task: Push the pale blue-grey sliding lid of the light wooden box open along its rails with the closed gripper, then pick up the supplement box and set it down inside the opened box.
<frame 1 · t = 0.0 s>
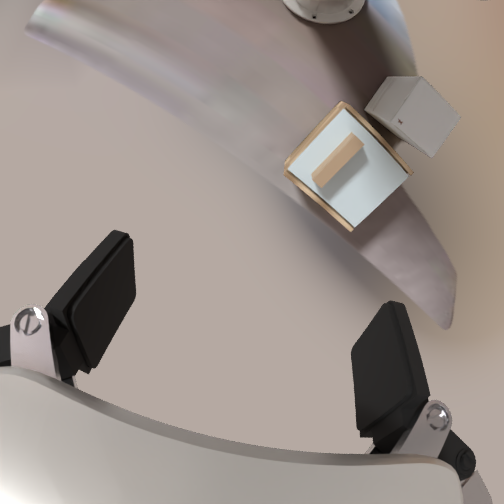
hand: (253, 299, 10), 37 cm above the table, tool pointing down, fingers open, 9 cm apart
box: (343, 158, 42), on the table
lid: (352, 173, 35), point 8 cm above the table, slide at 0.0 cm
supplement box: (393, 106, 36), on the table
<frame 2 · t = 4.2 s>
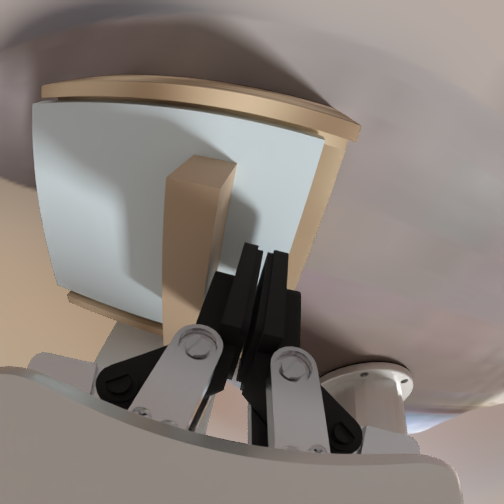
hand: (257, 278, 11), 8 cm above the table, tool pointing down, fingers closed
box: (202, 182, 18), on the table
lid: (129, 243, 11), point 8 cm above the table, slide at 1.0 cm, touching gripper
supplement box: (189, 309, 25), on the table
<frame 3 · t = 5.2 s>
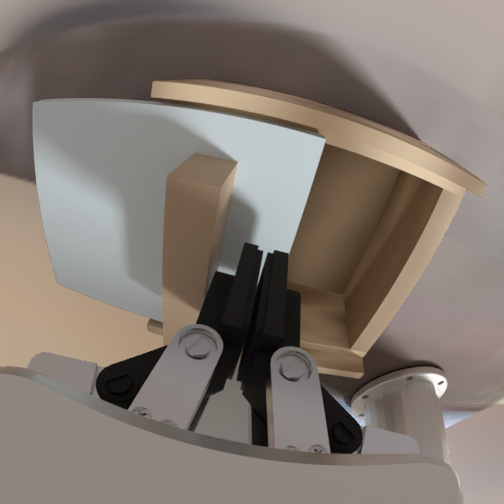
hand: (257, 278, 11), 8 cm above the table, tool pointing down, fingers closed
box: (293, 203, 18), on the table
lid: (129, 242, 11), point 8 cm above the table, slide at 6.8 cm, touching gripper
supplement box: (253, 325, 25), on the table
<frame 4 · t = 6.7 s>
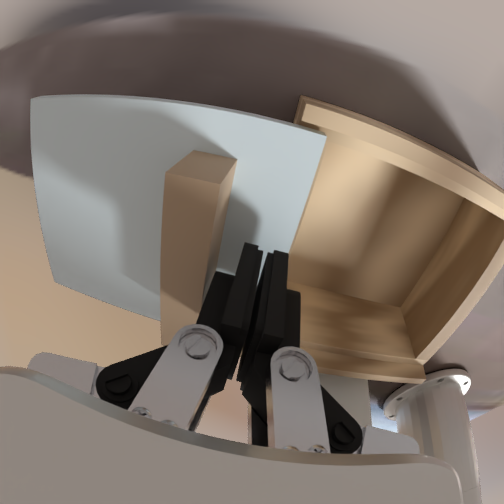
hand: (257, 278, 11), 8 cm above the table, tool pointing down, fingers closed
box: (368, 224, 18), on the table
lid: (127, 240, 11), point 8 cm above the table, slide at 12.0 cm
supplement box: (308, 337, 25), on the table
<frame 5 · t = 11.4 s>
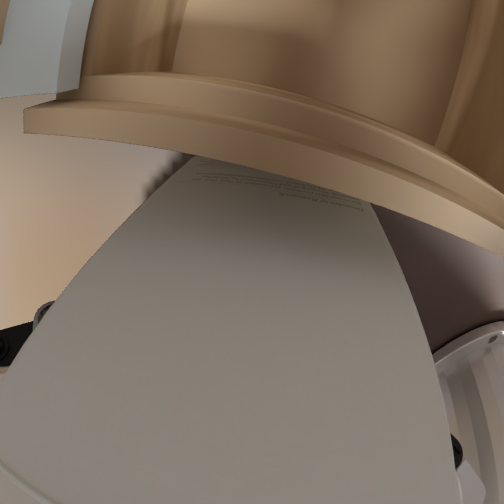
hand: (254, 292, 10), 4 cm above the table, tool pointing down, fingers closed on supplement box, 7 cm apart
supplement box: (266, 233, 14), on the table, touching gripper
when the fingers open (8 cm above the table, at t = 16.9 s): supplement box drops 3 cm, resting on box.
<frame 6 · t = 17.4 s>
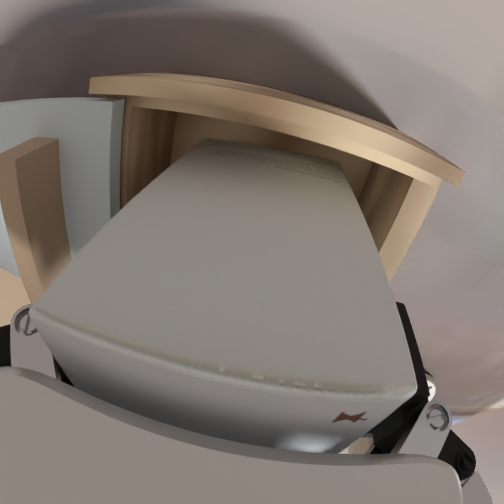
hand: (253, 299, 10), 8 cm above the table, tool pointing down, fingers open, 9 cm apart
box: (258, 199, 17), on the table
lid: (7, 216, 10), point 8 cm above the table, slide at 12.0 cm
supplement box: (261, 206, 16), point 1 cm above the table, touching box
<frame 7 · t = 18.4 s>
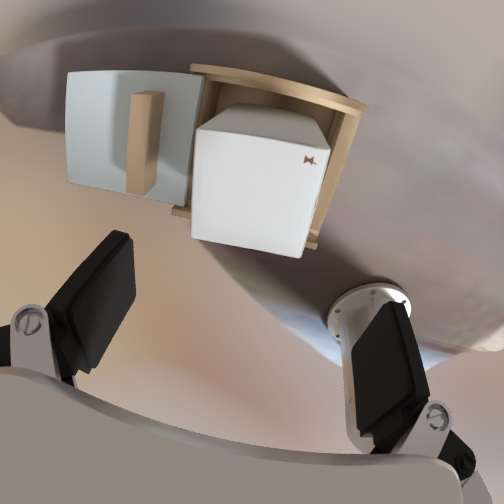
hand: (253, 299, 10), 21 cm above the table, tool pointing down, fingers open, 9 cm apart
box: (267, 139, 27), on the table
lid: (114, 137, 20), point 8 cm above the table, slide at 12.0 cm
supplement box: (268, 142, 26), point 1 cm above the table, touching box
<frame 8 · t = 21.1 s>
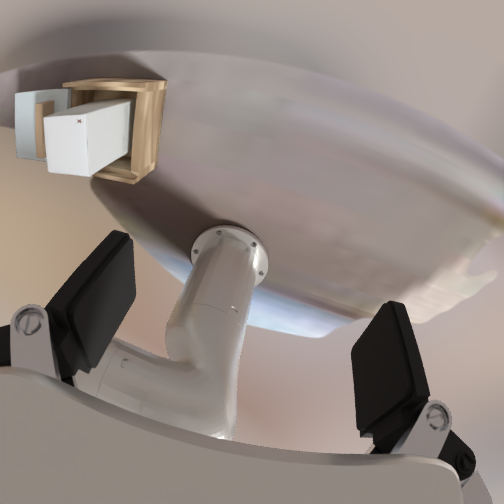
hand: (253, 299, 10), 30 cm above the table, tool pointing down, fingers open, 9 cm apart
box: (122, 120, 36), on the table
lid: (34, 127, 29), point 8 cm above the table, slide at 12.0 cm
supplement box: (121, 121, 35), point 1 cm above the table, touching box
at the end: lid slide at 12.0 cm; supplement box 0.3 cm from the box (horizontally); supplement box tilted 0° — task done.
